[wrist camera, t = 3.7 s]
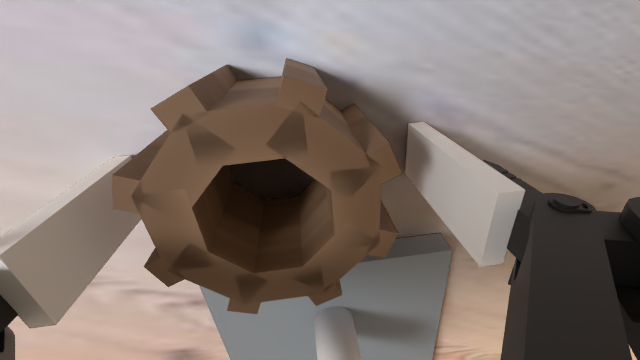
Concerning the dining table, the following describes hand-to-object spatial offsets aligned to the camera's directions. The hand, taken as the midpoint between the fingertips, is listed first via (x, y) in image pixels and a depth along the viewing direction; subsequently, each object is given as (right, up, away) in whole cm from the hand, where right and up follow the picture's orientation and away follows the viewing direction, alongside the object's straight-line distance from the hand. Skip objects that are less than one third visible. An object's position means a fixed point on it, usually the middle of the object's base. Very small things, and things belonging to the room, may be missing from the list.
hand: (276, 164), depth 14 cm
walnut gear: (0, 0, 0) cm, 0 cm away
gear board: (+3, -14, +8) cm, 16 cm away
